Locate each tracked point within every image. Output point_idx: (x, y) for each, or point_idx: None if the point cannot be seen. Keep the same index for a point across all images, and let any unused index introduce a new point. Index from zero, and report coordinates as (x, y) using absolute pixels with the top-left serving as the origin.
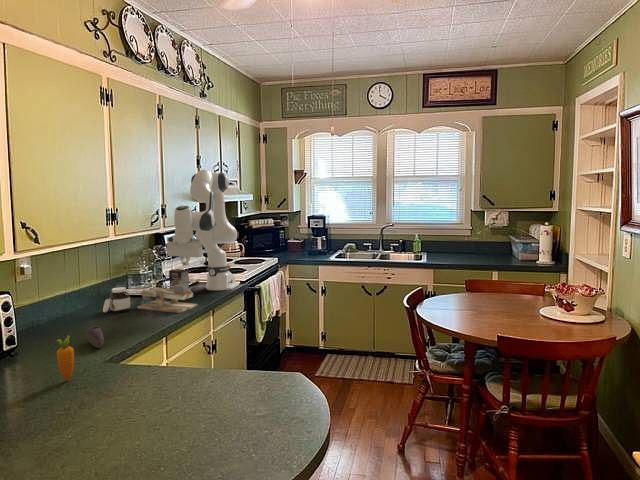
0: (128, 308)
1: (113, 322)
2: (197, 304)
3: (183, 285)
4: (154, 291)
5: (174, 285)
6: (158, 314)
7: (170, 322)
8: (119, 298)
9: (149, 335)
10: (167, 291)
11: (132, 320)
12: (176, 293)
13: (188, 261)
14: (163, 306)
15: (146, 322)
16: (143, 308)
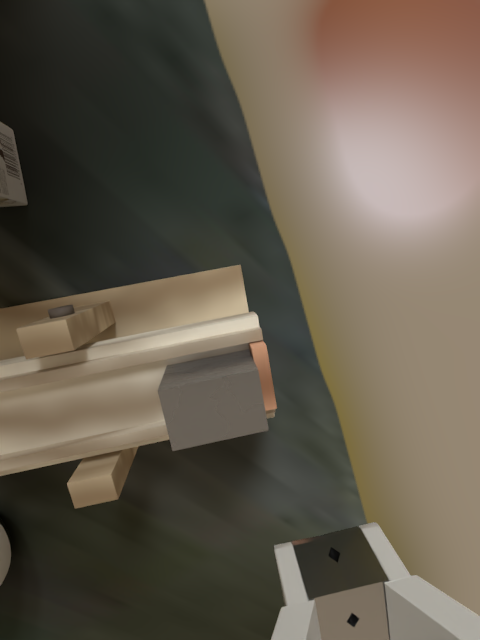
0: (5, 528)
1: (142, 634)
2: (240, 267)
3: (237, 402)
4: (14, 466)
5: (172, 443)
6: (198, 475)
7: (347, 517)
8: None
9: None
10: (63, 389)
11: (183, 582)
12: None
13: (423, 592)
14: None
15: (260, 567)
16: None
